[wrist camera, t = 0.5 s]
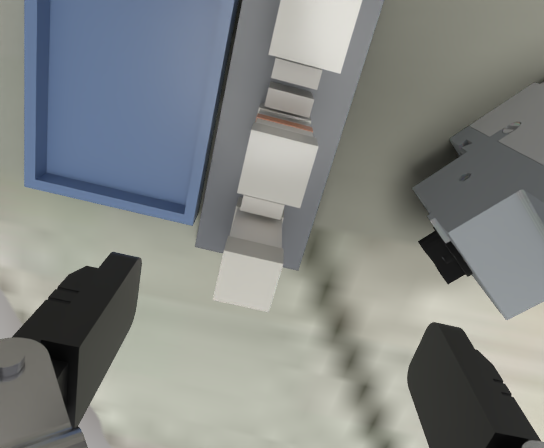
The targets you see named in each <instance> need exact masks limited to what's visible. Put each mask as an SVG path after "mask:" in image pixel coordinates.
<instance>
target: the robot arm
mask: <svg viewBox="0 0 544 448" xmlns="http://www.w3.org/2000/svg"><path fill="white" fill-rule="evenodd" d="M141 266H142V260H141V258H139V257H134V256H129V255H125V254H120V253H116V252H112V253H110V255H109V256H108V257H107V258H106V259H105V261H104V262H103V263H102V264H101V266H100V267H99V268H94V267H90V266H85V267H83V268H81V269H79V270H77V271H75V272H73V273H71V274H69V275H68V276H67V277H66V278H65V279H64V281H63V282H62V283H61V284H60V285H59V286H58V288H57V289H55V290H54V292H53V293H52V294H51V295H50V296H49V297H48V300H45V301H44V303H43V304H42V305H41V306H40V307H39V308H38V309H37V310H36V311H35V312H34V314H33V315H32V316H31V317H30V318H29V319H28V320H27V321H26V322H25V323H24V325H23V326H22V327H21V328H20V329H19V330H18V331H17V332H16V333H15V334H14V336H13V337H12V338H5V339H0V448H88V447H87V444H86V441H85V438H84V435H83V433H82V431H81V429H80V428H79V427H78V425H79V423H80V421H81V419H82V418H83V416H84V414H85V412H86V410H87V408H88V406H89V404H90V403H91V401H92V399H93V397H94V395H95V393H96V391H97V389H98V388H99V386H100V384H101V382H102V380H103V378H104V376H105V374H106V373H107V371H108V369H109V367H110V365H111V363H112V361H113V359H114V358H115V356H116V354H117V352H118V350H119V348H120V346H121V344H122V343H123V341H124V339H125V337H126V335H127V333H128V331H129V329H130V327H131V325H132V322H133V319H134V316H135V312H136V306H137V299H138V291H139V282H140V274H141ZM407 381H408V387H409V390H410V393H411V396H412V399H413V402H414V405H415V408H416V411H417V413H418V416H419V419H420V422H421V425H422V428H423V431H424V434H425V436H426V439H427V442H428V445H429V448H544V442H541V440H540V439H539V437H538V435H537V434H536V432H535V431H534V429H533V427H532V426H531V424H530V423H529V421H528V419H527V418H526V416H525V415H524V413H523V412H522V410H521V408H520V407H519V405H518V404H517V402H516V400H515V399H514V397H511V393H510V391H509V389H508V388H507V386H506V385H505V384H503V380H502V378H501V377H500V375H499V373H498V372H497V370H496V369H495V367H494V366H493V364H492V363H490V362H489V361H488V360H487V359H486V358H485V357H484V356H483V355H482V354H481V353H480V352H479V351H478V350H475V349H474V347H473V345H472V344H471V342H470V340H469V339H468V337H467V335H466V334H465V332H464V331H463V330H462V329H461V328H459V327H454V326H449V325H445V324H440V323H435V322H433V323H431V324H430V325H429V326H428V327H427V329H426V331H425V333H424V335H423V337H422V340H421V342H420V344H419V346H418V348H417V350H416V352H415V354H414V356H413V359H412V361H411V363H410V365H409V369H408V376H407Z"/></svg>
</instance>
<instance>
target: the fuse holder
mask: <svg viewBox="0 0 544 448" xmlns="http://www.w3.org/2000/svg"><path fill="white" fill-rule="evenodd" d="M280 1H281V0H243V1H242V6H241V11H240V16H239V21H238V26H237V32H236V37H235V42H234V47H233V52H232V58H231V63H230V68H229V73H228V78H227V83H226V89H225V94H224V99H223V104H222V109H221V114H220V120H219V125H218V130H217V135H216V140H215V146H214V151H213V156H212V161H211V166H210V171H209V177H208V182H207V187H206V192H205V197H204V202H203V208H202V213H201V218H200V223H199V228H198V234H197V239H196V244H195V247H198V248H202V249H206V250H211V251H215V252H219V253H223V252H224V248H225V245H226V241H227V238H228V236H230V231H231V227H232V222H233V218H234V214H235V209H236V205H237V202H238V198H239V197H242V198H243V199H242V204H241V208H240V211H245V212H249V213H253V214H257V215H261V216H266V217H270V218H274V219H278V220H281V216H282V213H283V209H284V219H283V222H282V248H283V249H284V256H283V267H285V268H289V269H293V270H299V266H300V263H301V260H302V257H303V254H304V251H305V248H306V244H307V241H308V238H309V235H310V232H311V229H312V226H313V223H314V219H315V216H316V213H317V210H318V207H319V204H320V201H321V197H322V194H323V191H324V188H325V185H326V182H327V179H328V175H329V172H330V169H331V166H332V163H333V160H334V157H335V153H336V150H337V147H338V144H339V141H340V138H341V135H342V132H343V128H344V125H345V122H346V119H347V116H348V113H349V110H350V106H351V103H352V100H353V97H354V94H355V91H356V88H357V84H358V81H359V78H360V75H361V72H362V69H363V66H364V62H365V59H366V56H367V53H368V50H369V47H370V44H371V41H372V37H373V34H374V31H375V28H376V25H377V22H378V19H379V15H380V12H381V9H382V6H383V3H384V0H362V3H361V7H360V10H359V13H358V17H357V20H356V23H355V27H354V30H353V33H352V37H351V40H350V43H349V47H348V50H347V53H346V57H345V60H344V63H343V67H342V70H341V73H340V74H339V73H335V72H332V71H328V70H324V69H320V68H317V67H313V66H309V65H305V64H302V63H298V62H294V61H291V60H287V59H283V58H279V57H276V56H272V55H268V54H269V50H270V45H271V41H272V36H273V32H274V27H275V23H276V19H277V14H278V10H279V5H280ZM260 103H264V104H265V107H269V108H272V109H276V110H280V111H284V112H288V113H292V114H296V115H300V116H303V117H307V118H309V117H310V118H311V124H310V125H311V127H312V129H313V137H315V138H316V139H317V143H318V146H319V147H318V150H317V154H316V157H315V160H314V164H313V167H312V170H311V174H310V177H309V180H308V184H307V187H306V190H305V194H304V197H303V200H302V204H301V207H300V208H297V207H293V206H288V205H284V204H280V203H276V202H272V201H268V200H264V199H259V198H255V197H251V196H247V195H243V194H239V193H237V191H238V186H239V182H240V177H241V173H242V168H243V164H244V160H245V155H246V151H247V146H248V142H249V138H250V133H251V129H252V126H253V123H254V122H256V117H257V114H258V109H259V106H260Z"/></svg>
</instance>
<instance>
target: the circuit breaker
mask: <svg viewBox="0 0 544 448" xmlns="http://www.w3.org/2000/svg"><path fill="white" fill-rule="evenodd" d="M450 141H451V143H452V144H453V146H454V148H455V149H456V151H457V152H458V154H459V156H460V157H459V158H457V159H456V160H454V161H453V162H451V163H449V164H448V165H446V166H445V167H443V168H442V169H440V170H439V171H437V172H436V173H434V174H433V175H431V176H430V177H428V178H426V179H425V180H423V181H422V182H420V183H419V184H417V185H416V186H414V187H413V188H412V189H413V190H414V192H415V193H416V195H417V196H418V198H419V199H420V201H421V202H422V204H423V205H424V207H425V208H426V210H427V211H428V213H429V215H427V217H428V218H429V220H430V221H431V223H432V224H433V228H434V230H435V231H434V232H433V233H431V234H429V235H428V236H426V237H424V238H423V239H421V240H420V241H418V242H419V244H420V245H421V247H422V248H423V250H424V251H425V252H426V254H427V255H428V256H429V257H430V258H431V260H432V261H433V262H434V264H435V266H436V267H437V269H438V271H439V272H440V274H441V275H442V277H443V278H444V279H445V281H446V282H447V284H449V283H451V282H453V281H455V280H456V279H458V278H460V277H461V276H463V275H465V274H466V275H467V276H470V275H472V276H473V277H474V278H475V280H476V281H477V282H478V284H479V285H480V286H481V288H482V289H483V290H484V292H485V293H486V294H487V296H488V297H489V298H490V300H491V301H492V302H493V304H494V305H495V306H496V308H497V309H498V310H499V312H500V313H502V315H503V316H504V318H505V319H506V320H508V319H510V318H512V317H514V316H516V315H518V314H520V313H522V312H524V311H526V310H528V309H530V308H532V307H534V306H536V305H538V304H540V303H542V302H544V82H542V83H541V84H538V83H532V84H531V85H529V86H528V87H526V88H525V89H523V90H522V91H520V92H519V93H517V94H516V95H514V96H513V97H511V98H510V99H508V100H507V101H505V102H504V103H502V104H501V105H499V106H498V107H496V108H495V109H493V110H492V111H490V112H489V113H487V114H486V115H484V116H483V117H481V118H480V119H478V120H477V121H475V122H474V123H472V124H471V125H469V126H468V127H466V128H465V129H463V130H462V131H460V132H459V133H457V134H456V135H454V136H453V137H451V138H450Z"/></svg>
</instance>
